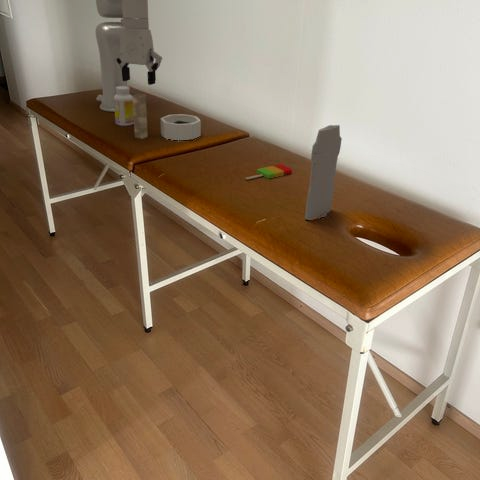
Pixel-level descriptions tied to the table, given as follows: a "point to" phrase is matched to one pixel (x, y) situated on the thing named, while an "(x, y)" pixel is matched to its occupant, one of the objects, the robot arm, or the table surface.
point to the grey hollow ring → (180, 127)
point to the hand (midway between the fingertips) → (138, 82)
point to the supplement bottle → (123, 106)
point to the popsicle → (272, 171)
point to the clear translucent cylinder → (140, 116)
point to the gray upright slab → (323, 172)
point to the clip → (181, 122)
